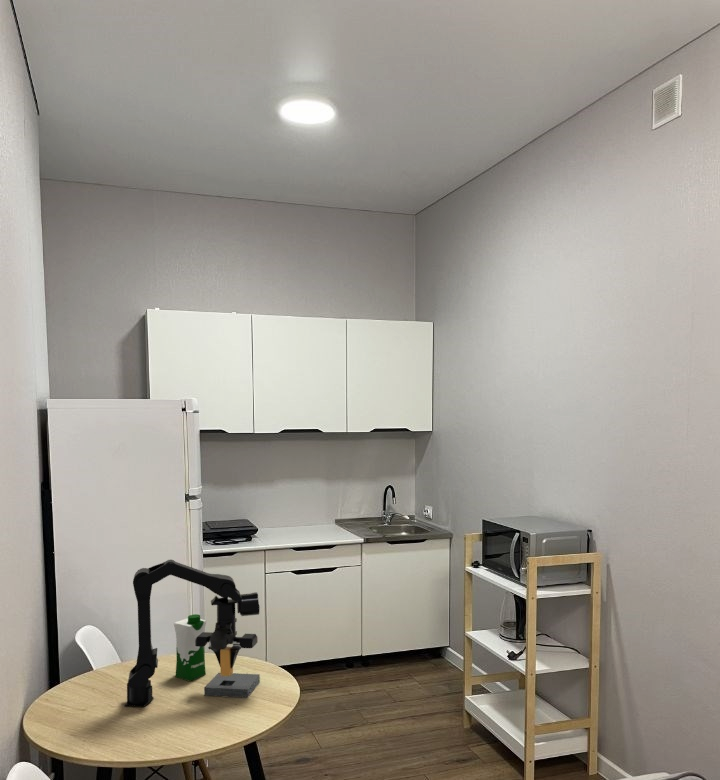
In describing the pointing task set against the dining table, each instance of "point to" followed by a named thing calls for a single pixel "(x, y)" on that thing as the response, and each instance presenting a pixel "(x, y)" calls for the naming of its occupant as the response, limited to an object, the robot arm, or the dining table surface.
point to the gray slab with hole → (232, 685)
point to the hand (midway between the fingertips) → (226, 667)
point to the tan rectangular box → (225, 662)
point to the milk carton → (189, 648)
